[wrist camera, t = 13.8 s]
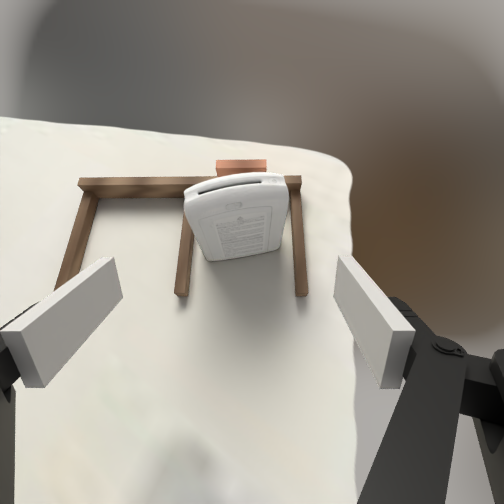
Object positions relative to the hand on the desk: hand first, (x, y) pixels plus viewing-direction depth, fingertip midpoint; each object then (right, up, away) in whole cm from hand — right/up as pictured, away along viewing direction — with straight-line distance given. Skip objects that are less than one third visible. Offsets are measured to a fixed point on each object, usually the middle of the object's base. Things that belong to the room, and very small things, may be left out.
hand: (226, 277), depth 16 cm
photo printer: (0, +2, +19) cm, 19 cm away
